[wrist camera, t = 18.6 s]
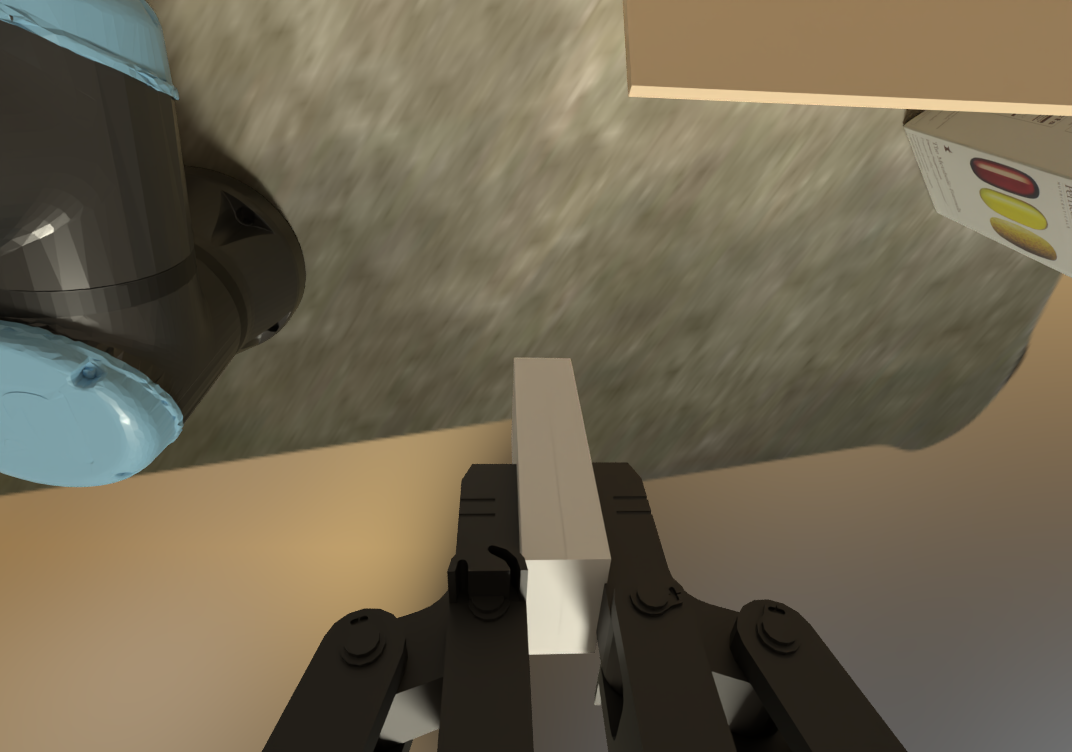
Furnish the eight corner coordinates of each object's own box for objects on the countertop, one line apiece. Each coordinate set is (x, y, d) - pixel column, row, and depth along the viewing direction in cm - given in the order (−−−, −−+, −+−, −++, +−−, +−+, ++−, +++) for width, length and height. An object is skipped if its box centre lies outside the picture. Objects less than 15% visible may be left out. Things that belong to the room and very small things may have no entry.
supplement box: (899, 124, 45) (1080, 178, 31) (1019, 40, 43) (1279, 56, 28) (936, 217, 50) (1110, 301, 36) (1048, 145, 47) (1285, 206, 33)
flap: (620, -108, 25) (617, -93, 26) (631, 85, 22) (628, 96, 23) (1089, -75, 27) (1076, -62, 27) (1149, 108, 24) (1134, 118, 25)
